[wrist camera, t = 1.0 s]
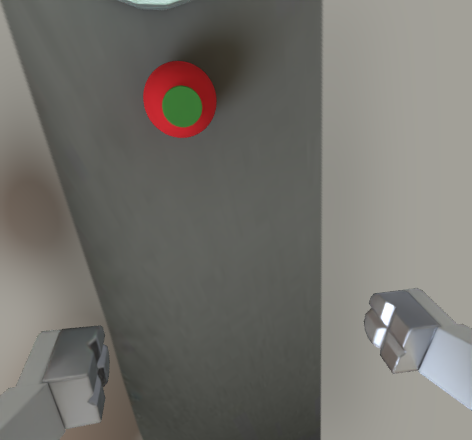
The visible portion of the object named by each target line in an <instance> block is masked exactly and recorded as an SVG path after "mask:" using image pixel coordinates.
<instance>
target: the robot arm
mask: <svg viewBox="0 0 472 440" xmlns="http://www.w3.org/2000/svg"><path fill="white" fill-rule="evenodd" d="M369 304H370V306H371V309H370V310H369V311H368V312H367V313H366V315H365V319H364V326H365V331H366V334H367V336H368V338H369V340H370V341H371V343H372V344H374V345H375V346H377V347H379V348H380V349H381V350H380V356H381V357H382V359H383V360H384V362H385V363H386V364H387V366H388V367H389V369H390V370H391V372H392V373H393V374H395V373H403V372H410V371H417V370H419V373H421V374H422V375H423V376H425V377H426V378H428V379H429V380H430V381H432V382H433V383H434V384H436V385H437V386H439V387H440V388H441V389H443V390H444V391H445V392H447V393H448V394H449V395H451V396H452V397H454V398H455V399H456V400H458V401H459V402H460V403H462V404H463V405H465V406H466V407H467V408H469V409H470V410H471V411H472V328H470V327H468V326H466V325H464V324H456V322H455V321H454V320H453V319H452V318H451V317H449V315H448V314H446V313H445V312H444V311H443V310H442V309H441V308H440V307H439V306H438V305H437V304H436V303H435V302H434V301H433V300H432V299H431V298H430V297H429V296H428V295H427V294H426V293H425V292H424V291H422V290H420V289H418V288H414V289H406V290H398V291H390V292H383V293H375V294H373V295H372V296H371V298H370V301H369ZM104 337H105V334H104V331H103V327H102V326H91V327H79V328H69V329H62V330H52V331H42V332H41V333H40V334H39V335H38V336H37V338H36V340H35V342H34V345H33V348H32V350H31V352H30V354H29V357H28V359H27V361H26V363H25V366H24V368H23V370H22V373H21V376H20V377H19V380H18V382H17V384H16V387H13V388H8V389H7V390H6V391H5V392H4V393H3V394H2V395H0V440H60V438H61V437H62V436H63V434H64V433H65V429H69V428H74V427H79V426H84V425H90V424H95V423H100V422H101V420H102V414H103V407H104V402H105V395H104V390H103V387H104V386H105V384H106V383H107V382H108V377H109V363H110V362H109V352H108V347H107V346H106V345H104V344H103V343H104Z"/></svg>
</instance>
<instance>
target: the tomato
mask: <svg viewBox="0 0 472 440" xmlns="http://www.w3.org/2000/svg"><path fill="white" fill-rule="evenodd" d="M143 99H144V107H145V110H146V113H147V115H148V117H149V119H150V120H151V122H152V123H153V124H154V125H155V126H156V127H157V128H158V129H159V130H160V131H162V132H164V133H165V134H167V135H170V136H173V137H178V138H185V137H191V136H194V135H196V134H198V133H200V132H201V131H203V130H204V129H205V128H206V127H207V126H208V125H209V124H210V122H211V120H212V118H213V116H214V114H215V110H216V102H217V101H216V93H215V89H214V86H213V84H212V82H211V80H210V79H209V77H208V76H207V75H206V73H205V72H203V71H202V70H201V69H200V68H199V67H197V66H195V65H193V64H191V63H188V62H184V61H172V62H168V63H165V64H163V65H161V66H159V67H158V68H157V69H155V70H154V71H153V72H152V74H151V75H150V76H149V78H148V80H147V82H146V84H145V88H144V94H143Z"/></svg>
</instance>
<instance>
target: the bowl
mask: <svg viewBox="0 0 472 440" xmlns="http://www.w3.org/2000/svg"><path fill="white" fill-rule="evenodd" d="M118 1H120V2H123V3H126V4H128V5H131V6H133V7H136V8H138V9H143V10H169V9H171V8H174V7H177V6H180V5H182V4H185V3H188V2H190V1H192V0H118Z"/></svg>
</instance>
